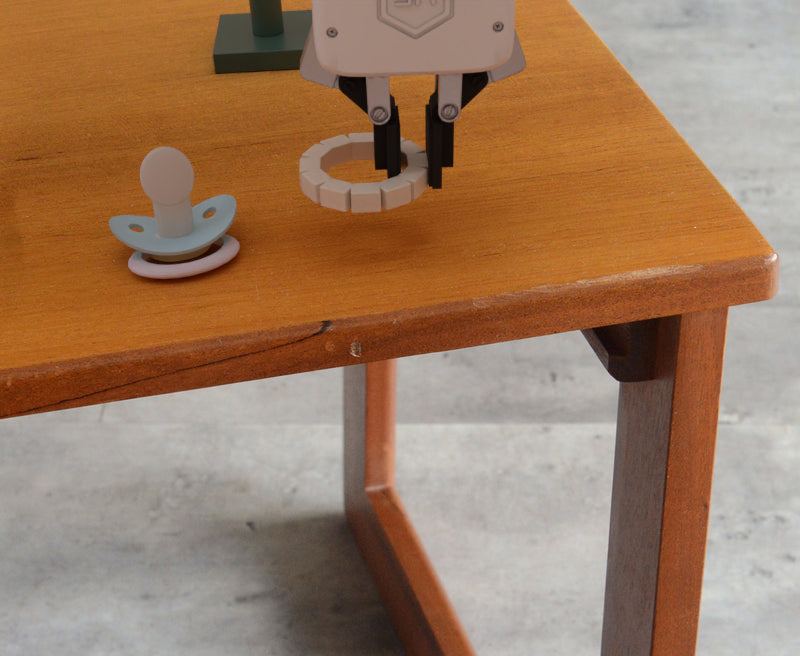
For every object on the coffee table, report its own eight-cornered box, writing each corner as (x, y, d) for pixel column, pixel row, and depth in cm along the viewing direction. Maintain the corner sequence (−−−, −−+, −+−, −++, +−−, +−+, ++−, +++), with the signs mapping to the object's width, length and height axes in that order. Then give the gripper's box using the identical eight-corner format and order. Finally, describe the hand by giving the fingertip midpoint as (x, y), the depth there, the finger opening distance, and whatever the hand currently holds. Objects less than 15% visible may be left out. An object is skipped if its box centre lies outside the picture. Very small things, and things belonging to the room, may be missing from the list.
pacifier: (256, 270, 68) (232, 217, 72) (243, 172, 64) (219, 123, 68) (128, 297, 66) (111, 242, 70) (106, 199, 62) (90, 147, 66)
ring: (299, 215, 64) (298, 195, 63) (301, 153, 70) (300, 134, 69) (433, 210, 64) (433, 190, 63) (424, 148, 70) (424, 130, 69)
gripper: (237, -148, 52) (271, 217, 64) (592, -159, 53) (562, 206, 64) (245, -189, 58) (276, 153, 70) (565, -199, 59) (542, 142, 70)
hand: (413, 176), depth 67 cm, fingers closed on ring, 1 cm apart
